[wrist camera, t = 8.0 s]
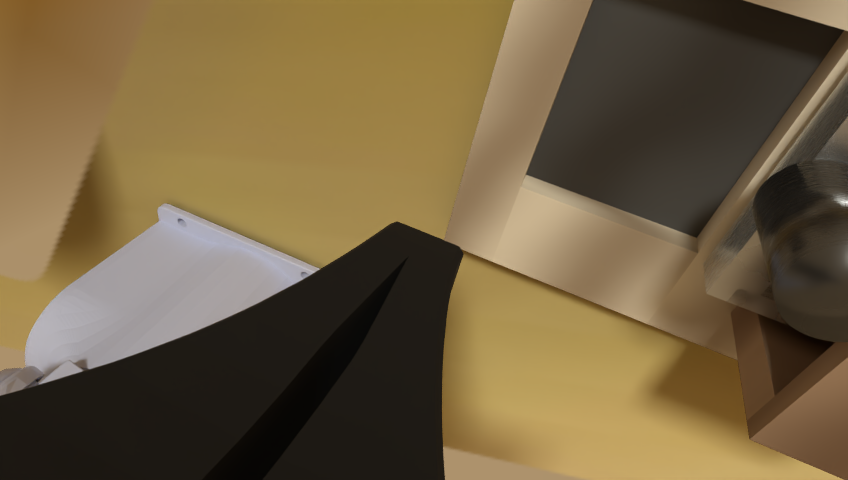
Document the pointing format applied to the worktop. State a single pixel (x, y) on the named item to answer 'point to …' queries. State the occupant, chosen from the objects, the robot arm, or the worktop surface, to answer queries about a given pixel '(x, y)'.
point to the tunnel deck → (660, 176)
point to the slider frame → (795, 234)
